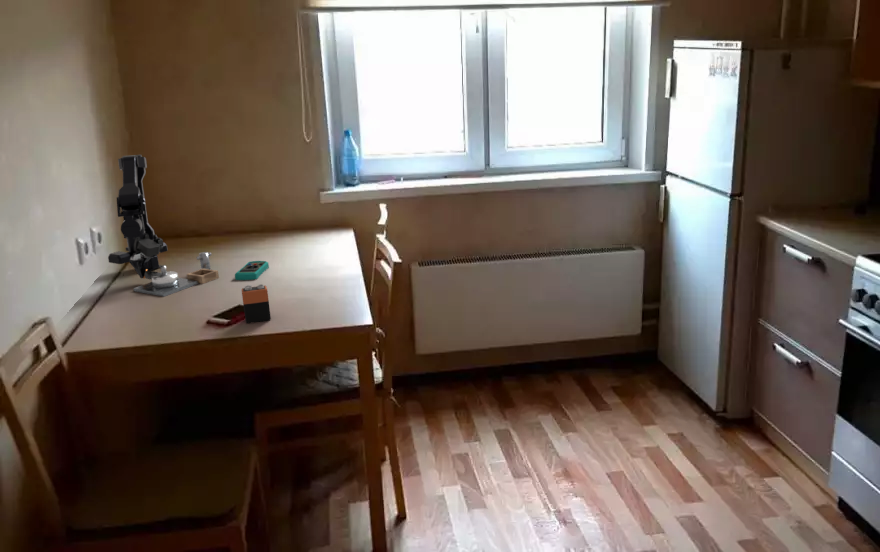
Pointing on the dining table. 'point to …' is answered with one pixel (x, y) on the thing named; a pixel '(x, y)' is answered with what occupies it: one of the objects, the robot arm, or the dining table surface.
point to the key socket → (203, 275)
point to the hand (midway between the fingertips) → (142, 278)
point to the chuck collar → (162, 277)
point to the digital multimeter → (252, 270)
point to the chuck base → (166, 291)
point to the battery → (256, 303)
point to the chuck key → (204, 260)
